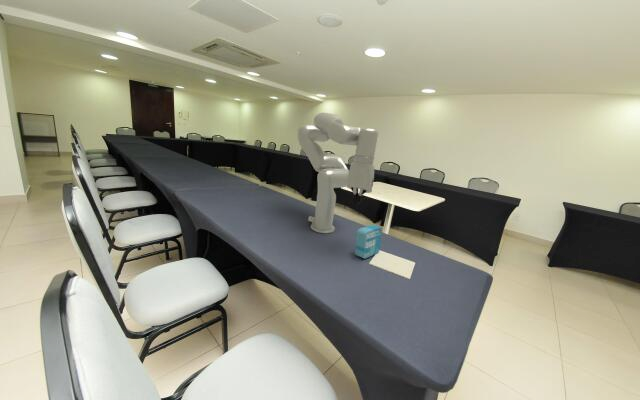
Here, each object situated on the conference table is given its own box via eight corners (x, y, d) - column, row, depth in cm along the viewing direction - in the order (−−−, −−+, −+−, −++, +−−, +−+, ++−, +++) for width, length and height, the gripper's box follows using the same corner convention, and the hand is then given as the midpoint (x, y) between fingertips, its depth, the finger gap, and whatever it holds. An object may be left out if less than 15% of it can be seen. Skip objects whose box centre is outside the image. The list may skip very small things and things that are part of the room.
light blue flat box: (363, 259, 97) (365, 232, 95) (354, 256, 101) (356, 229, 98) (379, 252, 105) (382, 226, 103) (371, 248, 109) (373, 223, 106)
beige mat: (368, 264, 96) (369, 263, 96) (378, 250, 108) (378, 249, 108) (409, 279, 89) (409, 278, 89) (415, 263, 101) (415, 262, 101)
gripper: (343, 157, 95) (337, 201, 101) (379, 164, 89) (370, 210, 94) (350, 157, 102) (344, 197, 107) (384, 162, 95) (376, 205, 100)
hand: (356, 203), depth 100 cm, fingers closed
